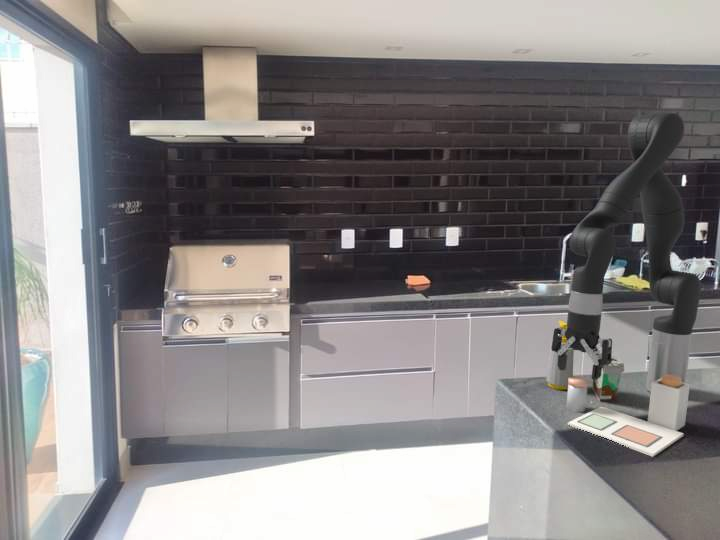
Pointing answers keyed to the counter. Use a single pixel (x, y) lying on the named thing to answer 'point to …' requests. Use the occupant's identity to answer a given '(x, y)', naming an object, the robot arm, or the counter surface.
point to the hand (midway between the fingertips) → (578, 374)
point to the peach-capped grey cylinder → (577, 393)
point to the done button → (671, 381)
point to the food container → (608, 380)
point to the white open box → (668, 405)
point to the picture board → (627, 430)
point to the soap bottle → (554, 375)
